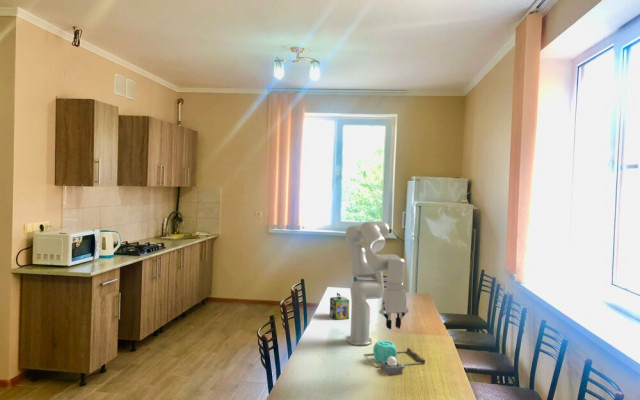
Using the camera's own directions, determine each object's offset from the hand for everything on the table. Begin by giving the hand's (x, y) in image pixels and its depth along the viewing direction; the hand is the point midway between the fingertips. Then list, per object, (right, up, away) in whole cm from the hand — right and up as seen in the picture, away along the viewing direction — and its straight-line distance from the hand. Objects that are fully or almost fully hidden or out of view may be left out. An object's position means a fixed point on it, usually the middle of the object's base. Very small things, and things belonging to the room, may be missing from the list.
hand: (393, 327), depth 193 cm
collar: (-1, -19, +1) cm, 19 cm away
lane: (+2, -19, +14) cm, 23 cm away
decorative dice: (-2, -19, +12) cm, 23 cm away
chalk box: (-20, -16, +76) cm, 80 cm away
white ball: (-1, -17, +1) cm, 17 cm away
